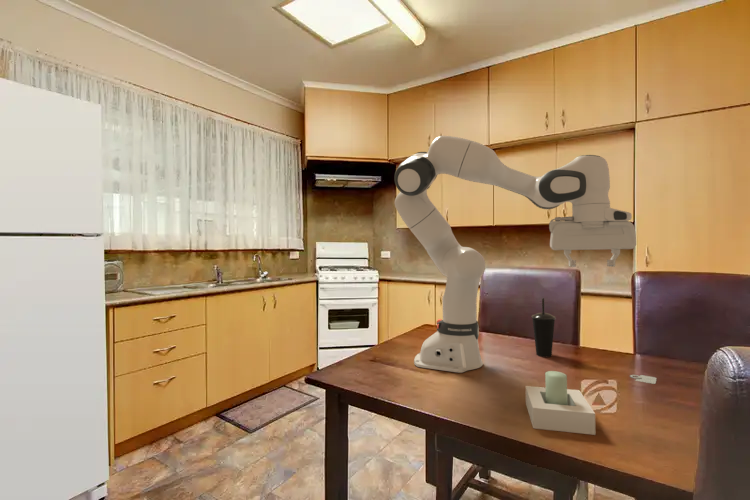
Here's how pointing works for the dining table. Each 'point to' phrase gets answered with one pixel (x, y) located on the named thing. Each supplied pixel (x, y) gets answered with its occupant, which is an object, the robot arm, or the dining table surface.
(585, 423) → the well block
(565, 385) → the green dowel
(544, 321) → the drinking cup
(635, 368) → the dining table surface
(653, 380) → the mounting bracket
